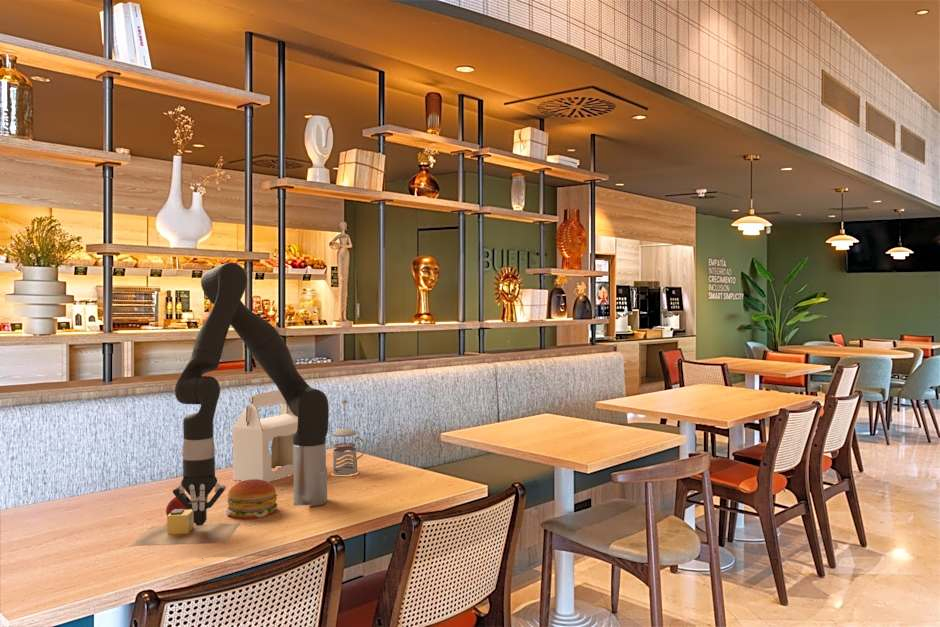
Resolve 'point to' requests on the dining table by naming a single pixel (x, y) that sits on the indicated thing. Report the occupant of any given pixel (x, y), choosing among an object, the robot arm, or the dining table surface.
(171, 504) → the onion
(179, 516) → the yellow cube
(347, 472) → the french press
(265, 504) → the burger
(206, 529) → the board
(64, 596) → the dining table surface
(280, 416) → the gable box
